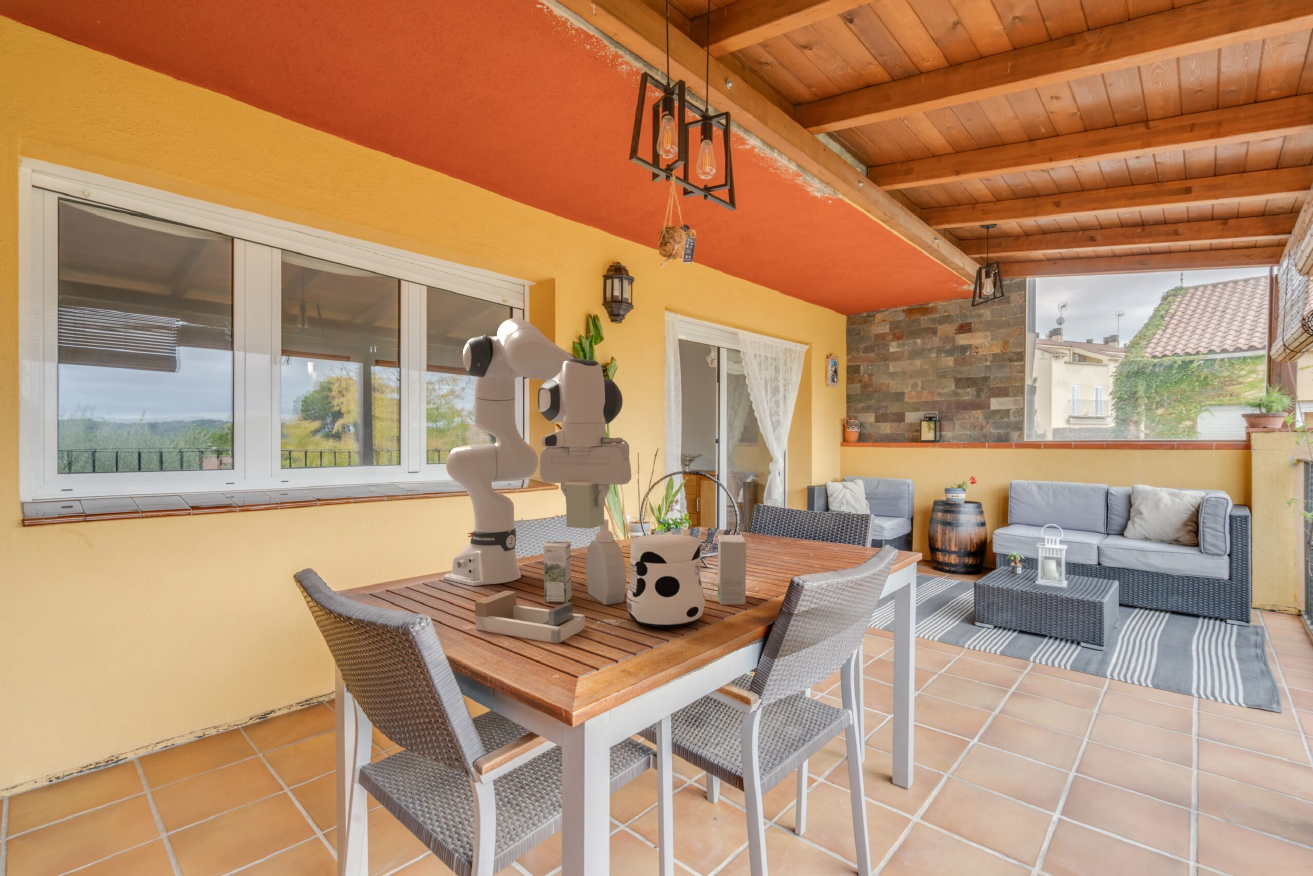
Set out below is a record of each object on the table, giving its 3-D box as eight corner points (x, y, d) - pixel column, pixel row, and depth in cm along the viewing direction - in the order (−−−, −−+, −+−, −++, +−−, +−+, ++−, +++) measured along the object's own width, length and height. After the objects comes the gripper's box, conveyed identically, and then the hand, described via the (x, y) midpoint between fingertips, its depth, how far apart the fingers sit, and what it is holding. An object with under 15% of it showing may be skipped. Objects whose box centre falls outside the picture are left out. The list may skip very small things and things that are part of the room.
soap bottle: (584, 592, 161) (583, 516, 161) (603, 589, 163) (602, 515, 163) (606, 608, 147) (605, 525, 146) (627, 605, 149) (625, 523, 149)
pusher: (537, 635, 127) (536, 609, 127) (556, 625, 133) (556, 600, 133) (553, 638, 125) (553, 611, 125) (572, 628, 131) (572, 602, 131)
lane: (475, 629, 132) (475, 601, 132) (506, 616, 141) (505, 590, 141) (557, 643, 123) (556, 613, 122) (584, 628, 131) (584, 601, 131)
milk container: (718, 616, 139) (717, 537, 138) (679, 639, 124) (677, 550, 124) (655, 605, 148) (653, 531, 148) (611, 625, 134) (609, 543, 133)
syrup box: (572, 597, 157) (571, 540, 156) (566, 603, 151) (565, 544, 151) (550, 596, 157) (549, 540, 157) (543, 603, 151) (542, 544, 151)
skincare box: (717, 595, 156) (716, 534, 155) (743, 595, 155) (743, 534, 155) (719, 605, 147) (718, 540, 147) (747, 605, 147) (746, 540, 147)
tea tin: (565, 527, 124) (565, 482, 123) (581, 523, 129) (580, 479, 129) (589, 528, 121) (588, 482, 121) (604, 524, 126) (604, 480, 126)
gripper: (636, 437, 123) (637, 506, 123) (552, 438, 132) (554, 502, 132) (620, 437, 117) (621, 510, 117) (534, 438, 126) (535, 505, 127)
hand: (585, 505), depth 125 cm, fingers closed on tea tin, 5 cm apart
